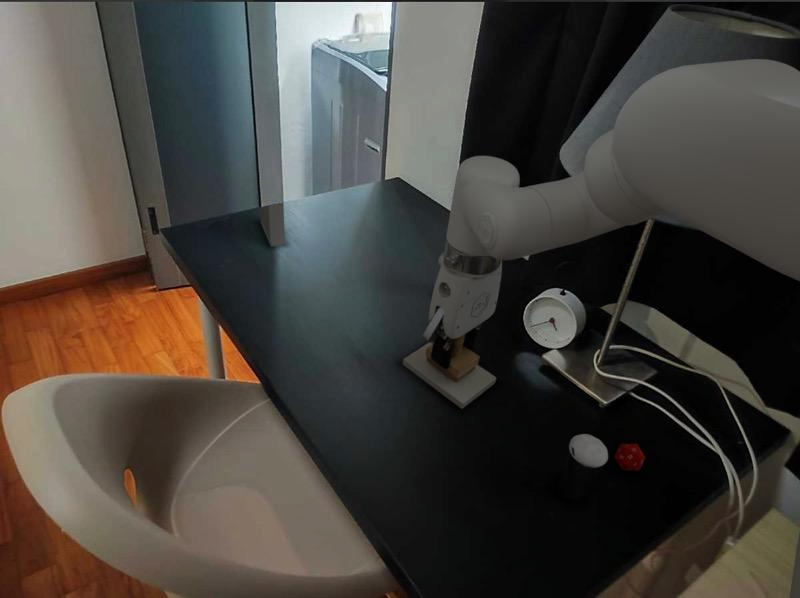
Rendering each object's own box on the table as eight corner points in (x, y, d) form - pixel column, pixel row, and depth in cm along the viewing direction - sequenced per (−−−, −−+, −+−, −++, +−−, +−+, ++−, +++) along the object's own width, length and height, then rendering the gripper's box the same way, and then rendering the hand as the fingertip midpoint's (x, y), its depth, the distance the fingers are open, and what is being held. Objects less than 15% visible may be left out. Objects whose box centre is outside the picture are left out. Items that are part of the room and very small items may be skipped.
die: (645, 451, 78) (635, 434, 76) (651, 473, 75) (641, 455, 73) (618, 458, 79) (608, 441, 78) (624, 480, 77) (613, 462, 75)
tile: (495, 383, 87) (496, 377, 87) (461, 409, 83) (463, 403, 82) (436, 342, 94) (437, 336, 93) (402, 364, 89) (403, 358, 88)
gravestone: (270, 246, 111) (266, 159, 100) (260, 222, 118) (255, 138, 107) (284, 244, 112) (281, 158, 101) (274, 221, 119) (270, 137, 108)
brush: (476, 369, 87) (486, 330, 82) (456, 384, 84) (464, 345, 79) (445, 347, 90) (452, 308, 85) (424, 360, 87) (430, 322, 82)
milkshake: (540, 482, 74) (560, 431, 68) (573, 470, 76) (596, 420, 70) (561, 512, 71) (584, 462, 65) (595, 499, 73) (621, 449, 67)
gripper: (452, 290, 68) (432, 397, 79) (533, 243, 78) (505, 343, 89) (406, 262, 72) (394, 367, 83) (489, 221, 82) (468, 319, 93)
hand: (452, 354), depth 86 cm, fingers closed on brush, 4 cm apart
